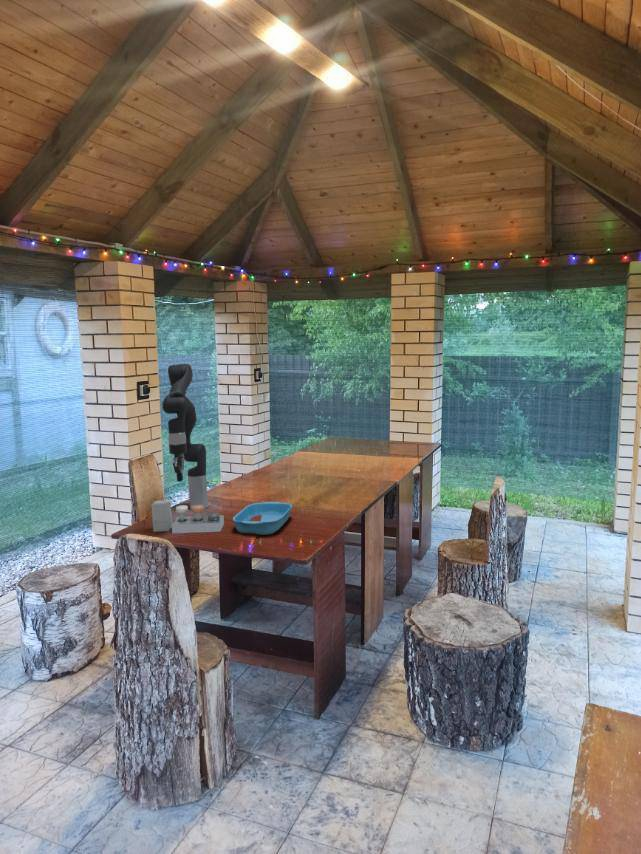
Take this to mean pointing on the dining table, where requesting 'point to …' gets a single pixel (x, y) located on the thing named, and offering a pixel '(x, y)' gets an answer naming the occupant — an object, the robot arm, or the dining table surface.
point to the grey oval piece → (182, 512)
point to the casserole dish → (262, 517)
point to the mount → (197, 525)
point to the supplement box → (161, 515)
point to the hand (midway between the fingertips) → (180, 480)
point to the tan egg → (197, 511)
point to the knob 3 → (213, 516)
